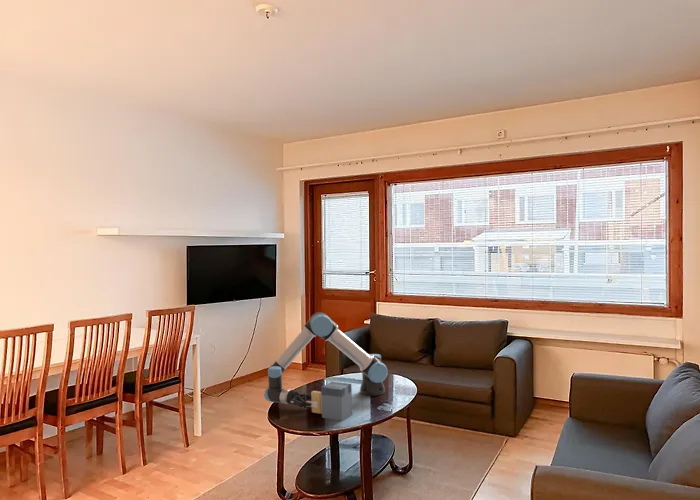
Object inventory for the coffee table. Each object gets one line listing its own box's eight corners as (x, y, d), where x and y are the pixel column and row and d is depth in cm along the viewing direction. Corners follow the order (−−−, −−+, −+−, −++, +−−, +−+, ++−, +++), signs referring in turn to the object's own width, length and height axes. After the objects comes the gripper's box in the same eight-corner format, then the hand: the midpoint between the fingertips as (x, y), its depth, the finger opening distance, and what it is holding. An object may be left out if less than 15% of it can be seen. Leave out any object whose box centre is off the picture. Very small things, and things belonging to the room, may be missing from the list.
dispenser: (321, 417, 261) (320, 386, 261) (331, 410, 271) (330, 381, 270) (342, 420, 255) (341, 389, 255) (352, 414, 265) (351, 383, 265)
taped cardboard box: (311, 412, 268) (311, 391, 268) (314, 410, 271) (313, 390, 271) (336, 416, 261) (335, 395, 261) (338, 414, 264) (337, 393, 264)
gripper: (302, 397, 287) (334, 402, 277) (277, 410, 266) (311, 415, 256) (301, 384, 287) (334, 388, 277) (276, 396, 266) (311, 401, 256)
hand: (323, 401), depth 266 cm, fingers open, 12 cm apart
